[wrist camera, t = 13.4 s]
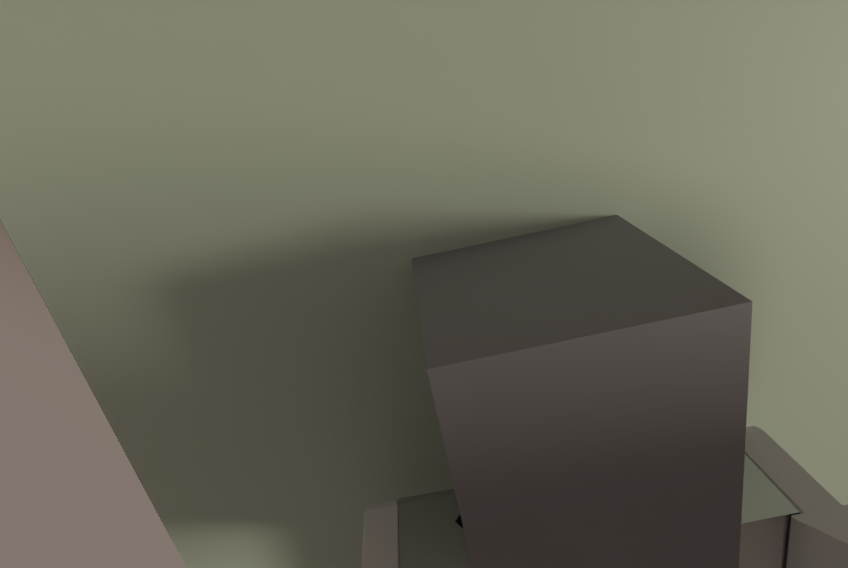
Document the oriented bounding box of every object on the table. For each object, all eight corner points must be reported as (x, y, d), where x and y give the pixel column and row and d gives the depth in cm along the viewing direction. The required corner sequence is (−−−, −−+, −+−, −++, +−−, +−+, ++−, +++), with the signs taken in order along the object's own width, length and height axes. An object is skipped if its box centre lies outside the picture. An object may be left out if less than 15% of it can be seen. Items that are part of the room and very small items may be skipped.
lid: (798, 584, 14) (1009, 849, 9) (313, 681, 14) (277, 989, 10) (885, -165, 8) (1676, -532, 3) (16, 27, 8) (-534, -31, 3)
